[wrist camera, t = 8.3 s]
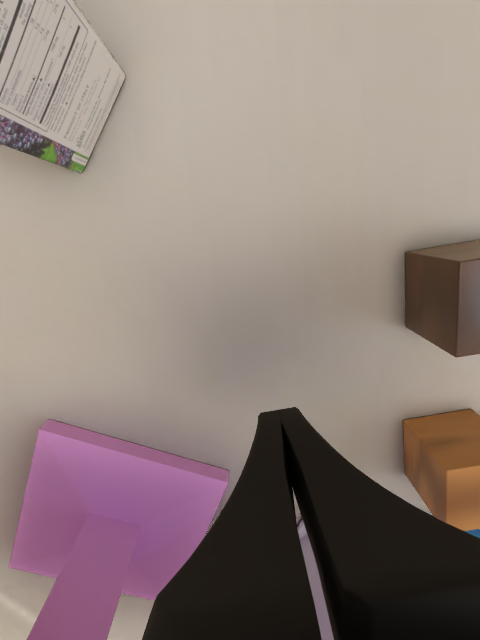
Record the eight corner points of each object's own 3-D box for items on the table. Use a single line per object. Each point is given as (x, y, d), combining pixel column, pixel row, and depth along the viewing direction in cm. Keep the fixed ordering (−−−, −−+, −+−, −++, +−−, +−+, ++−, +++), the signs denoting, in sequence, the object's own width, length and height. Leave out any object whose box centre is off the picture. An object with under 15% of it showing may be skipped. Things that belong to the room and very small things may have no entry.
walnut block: (481, 315, 21) (554, 342, 16) (405, 327, 21) (455, 358, 16) (486, 238, 19) (568, 243, 15) (404, 251, 20) (460, 261, 15)
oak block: (469, 463, 24) (526, 522, 20) (404, 474, 25) (445, 534, 20) (471, 408, 23) (533, 457, 18) (402, 419, 23) (446, 471, 18)
